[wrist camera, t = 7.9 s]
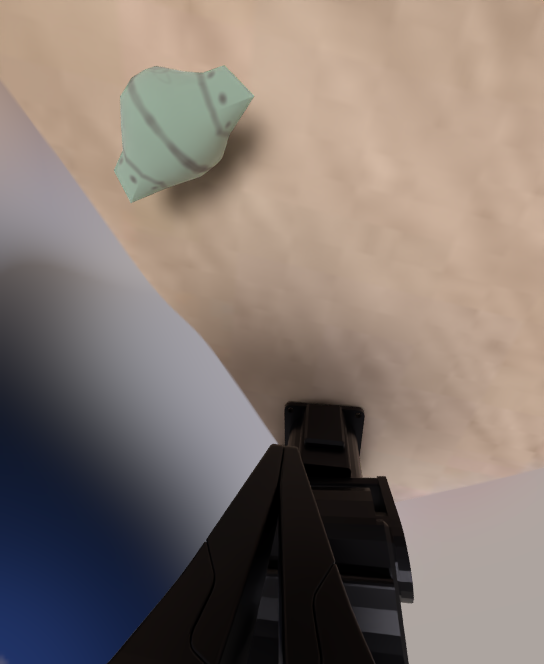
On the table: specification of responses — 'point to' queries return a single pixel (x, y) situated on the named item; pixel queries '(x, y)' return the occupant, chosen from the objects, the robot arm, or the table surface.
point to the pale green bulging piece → (176, 126)
